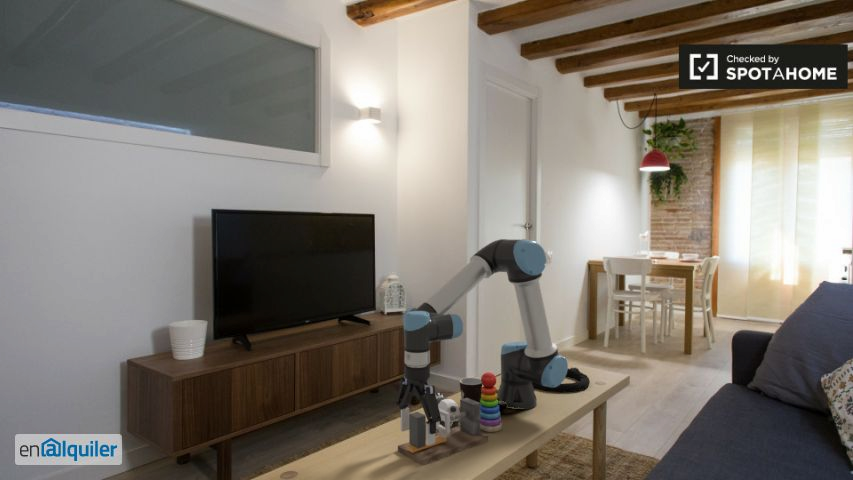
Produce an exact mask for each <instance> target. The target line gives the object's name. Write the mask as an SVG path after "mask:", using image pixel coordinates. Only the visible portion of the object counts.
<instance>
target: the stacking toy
mask: <svg viewBox="0 0 853 480" xmlns="http://www.w3.org/2000/svg"><path fill="white" fill-rule="evenodd" d="M480 379H481V382H482V389H481V391H482V392H481V400H480V431H484V432H486V433H487V432H488V433H494V432H495V433H496V432H499V431H500V430H502V429H503V428H502V427H503V423H502V418H501V411H500V405H498V400H497V397H498V396H497V394H498V393H497V392H498V391H497V387H496V384H497V377H496V375H495V374H494V373H492V372H489V371H487V372H484V373H483V374H482V375H481V378H480Z"/></svg>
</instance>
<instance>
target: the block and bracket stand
mask: <svg viewBox="0 0 853 480" xmlns="http://www.w3.org/2000/svg"><path fill="white" fill-rule="evenodd" d="M439 412H440V414H441V415H443V416H445V423H444V424H445V427H444V425H442V424H441V423H440V421H439V422H436V430H438V433H439V435H438V436H435V443H434V444H432V445H429V446H427V445H426V422H427V421H426V419H427V417H426V415H425V414H423V413H422V412H419V411H415V412H411V413H409V431H408V432H409V434H408V435H409V436H408V437H409V441H408V442H409V444H410V445H407V446H406V449H407V450H409V451H410V452H412V453H413V452H416V451H419V450H422V449H425V448H428V447H431V446H434V445H437V444H440V443H443V442H445V441H447V438H446V434H448V433H450V429H451V423H450V413H448V412H446V411H444V410H442V409H439Z"/></svg>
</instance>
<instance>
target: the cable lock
mask: <svg viewBox="0 0 853 480" xmlns="http://www.w3.org/2000/svg"><path fill="white" fill-rule="evenodd" d="M565 377H567V378H572V379H575V380H578V381H576V382H566V383H561V384H560V385H559V386H557V387H548V386H543V385H541V384H537V383H534V382H532V386H533V389H537V390H542V391H546V392H552V393H553V392H556V393H573V392H579V391H583V390H585V389H586V388H587V387H589V386H590V378H589V376H588V375H586V374H585V373H583V372H581V371H580V370H579V369H578V368H577V367H570V368H569V367H568V370H567V374H566V376H565Z"/></svg>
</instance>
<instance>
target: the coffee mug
mask: <svg viewBox="0 0 853 480" xmlns="http://www.w3.org/2000/svg"><path fill="white" fill-rule="evenodd" d="M482 387H483V384H482V382H481V378H478V377H463V378H461V379H459V389H460V397H461V399H465V398H469V399H471V400H474V401H477V402H479V403H480V400H481V399H482V398H481V394H482V391H481V389H482ZM461 399H460V400H461ZM480 404H481V403H480Z"/></svg>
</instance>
